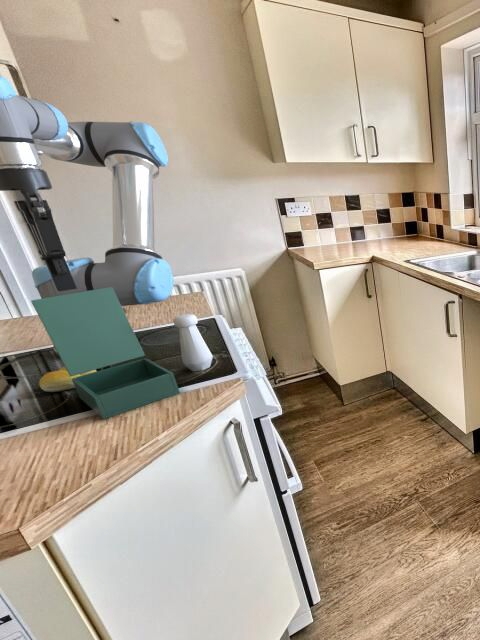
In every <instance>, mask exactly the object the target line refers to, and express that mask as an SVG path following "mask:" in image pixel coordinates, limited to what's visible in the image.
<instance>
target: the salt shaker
mask: <svg viewBox="0 0 480 640" xmlns="http://www.w3.org/2000/svg"><path fill="white" fill-rule="evenodd" d="M172 320H173V325H174V326H175V327H176V328H178V332H179V333H178V334H179V343H180V344H179V345H180V353H181V354H180V355H181V356H180V357H181V362H182V363H183V365H184V366H185V367H186V368H187V369H188V370H189V371H192V372H199V371H204V370H206V369H209V368H211V365H212V361H213V357H214V355H213V354H212V352H211V351H210V348H209V347H208V345H207V343H206V342H205V339H204V338H203V336H202V334H201V332H200V331H199V328H198V327H197V324H198V318H197V316H196V314H193V313H182V314H179V315H176V316H174V318H173V319H172Z"/></svg>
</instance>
